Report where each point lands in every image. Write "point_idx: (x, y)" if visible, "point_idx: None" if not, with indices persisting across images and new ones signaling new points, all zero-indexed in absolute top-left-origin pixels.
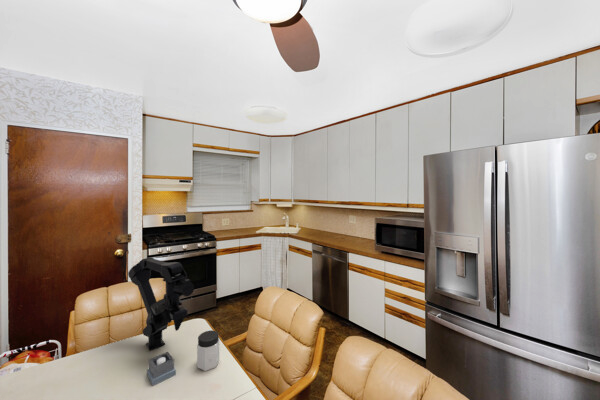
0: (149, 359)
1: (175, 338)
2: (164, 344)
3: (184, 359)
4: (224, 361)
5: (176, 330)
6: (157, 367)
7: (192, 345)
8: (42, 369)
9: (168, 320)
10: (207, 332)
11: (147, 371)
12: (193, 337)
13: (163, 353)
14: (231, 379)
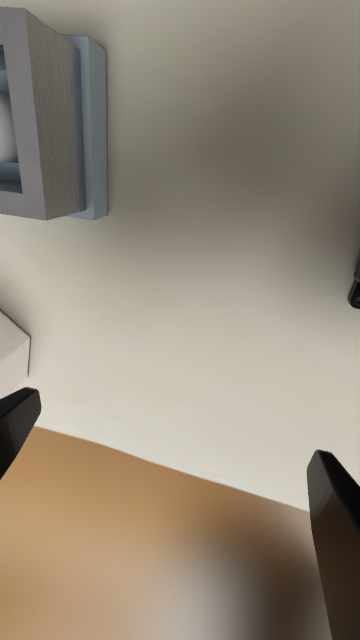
0: (21, 18)
1: (348, 374)
2: (348, 300)
3: (93, 295)
4: None
5: (26, 393)
6: None
7: (183, 383)
8: None
9: (328, 483)
10: None
11: (74, 37)
12: (252, 424)
13: (41, 179)
14: None
